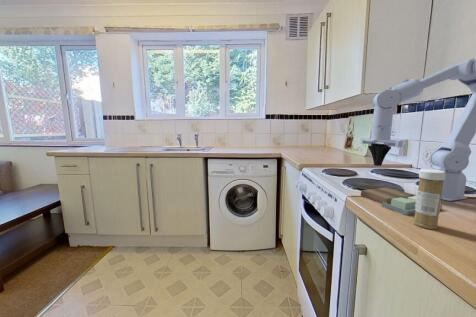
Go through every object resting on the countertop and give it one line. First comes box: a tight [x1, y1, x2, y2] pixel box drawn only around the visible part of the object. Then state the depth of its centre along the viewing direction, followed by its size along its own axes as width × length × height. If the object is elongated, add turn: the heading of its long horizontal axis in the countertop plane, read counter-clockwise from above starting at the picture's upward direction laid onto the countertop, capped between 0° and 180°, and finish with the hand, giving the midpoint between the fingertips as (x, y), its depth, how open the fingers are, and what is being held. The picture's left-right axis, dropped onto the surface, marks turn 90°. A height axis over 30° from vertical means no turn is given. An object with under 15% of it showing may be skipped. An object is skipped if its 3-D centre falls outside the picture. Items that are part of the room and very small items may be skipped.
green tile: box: [391, 197, 416, 210], centre depth 65 cm, size 4×4×2 cm
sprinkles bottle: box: [413, 168, 446, 230], centre depth 53 cm, size 5×5×13 cm
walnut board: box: [360, 186, 415, 205], centre depth 73 cm, size 12×9×2 cm
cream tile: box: [408, 195, 417, 206], centre depth 66 cm, size 4×4×2 cm
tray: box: [381, 202, 443, 216], centre depth 65 cm, size 14×7×1 cm, turn 109°
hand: (377, 165), depth 80 cm, fingers closed
